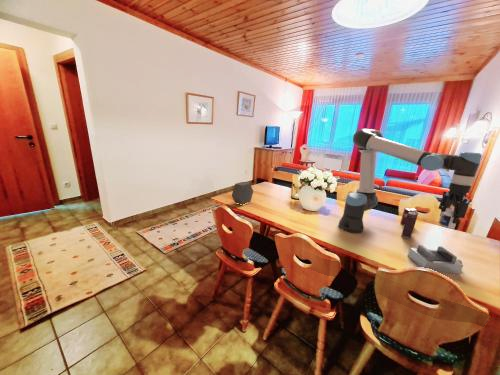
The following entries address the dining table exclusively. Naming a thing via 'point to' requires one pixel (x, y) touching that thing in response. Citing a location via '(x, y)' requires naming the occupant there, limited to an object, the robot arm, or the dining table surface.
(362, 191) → the robot arm
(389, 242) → the dining table surface
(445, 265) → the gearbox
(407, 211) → the soda can
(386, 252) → the dining table surface
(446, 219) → the pill bottle
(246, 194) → the planter
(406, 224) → the supplement box
